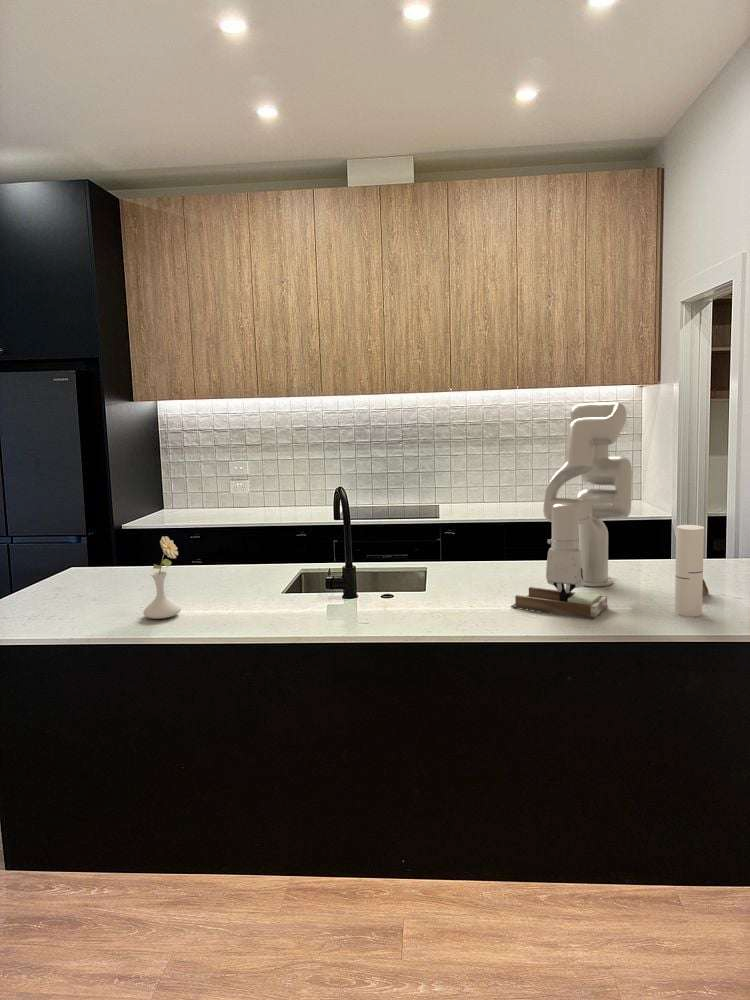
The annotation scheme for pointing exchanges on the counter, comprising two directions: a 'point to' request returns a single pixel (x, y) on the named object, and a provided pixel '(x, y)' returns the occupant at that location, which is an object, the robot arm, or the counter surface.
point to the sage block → (584, 598)
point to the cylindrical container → (689, 570)
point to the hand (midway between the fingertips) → (565, 604)
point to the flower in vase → (161, 603)
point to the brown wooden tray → (558, 604)
